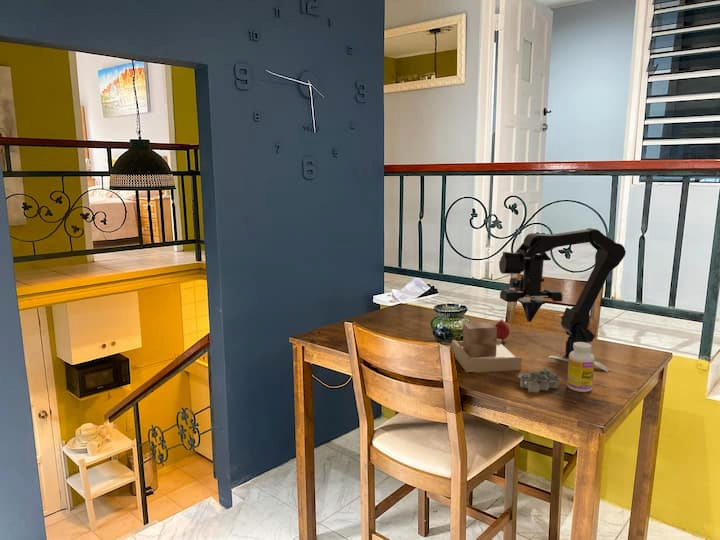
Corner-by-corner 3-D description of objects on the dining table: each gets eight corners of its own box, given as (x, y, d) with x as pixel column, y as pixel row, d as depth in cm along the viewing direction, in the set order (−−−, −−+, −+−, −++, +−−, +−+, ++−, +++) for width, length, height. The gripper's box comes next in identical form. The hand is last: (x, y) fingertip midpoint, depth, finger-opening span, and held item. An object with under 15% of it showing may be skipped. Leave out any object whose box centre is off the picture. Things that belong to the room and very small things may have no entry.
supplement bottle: (580, 394, 149) (583, 349, 147) (561, 386, 155) (564, 343, 152) (597, 389, 152) (600, 345, 150) (578, 381, 158) (581, 339, 155)
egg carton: (531, 394, 150) (532, 380, 149) (515, 384, 157) (515, 371, 156) (563, 388, 154) (564, 374, 153) (545, 379, 161) (546, 366, 160)
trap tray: (500, 350, 186) (500, 337, 185) (521, 370, 168) (521, 355, 167) (451, 352, 184) (451, 339, 183) (467, 372, 166) (467, 358, 165)
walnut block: (489, 350, 179) (490, 322, 177) (496, 356, 173) (496, 327, 171) (462, 351, 178) (463, 323, 176) (468, 357, 172) (468, 328, 170)
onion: (511, 343, 193) (512, 321, 191) (494, 343, 193) (495, 321, 191) (507, 338, 198) (507, 317, 197) (491, 338, 198) (491, 317, 197)
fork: (549, 362, 181) (549, 354, 180) (613, 372, 166) (613, 363, 165) (545, 365, 179) (544, 356, 179) (609, 374, 164) (609, 365, 163)
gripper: (548, 269, 181) (544, 314, 184) (494, 269, 178) (491, 315, 181) (565, 275, 170) (561, 323, 173) (508, 275, 168) (505, 324, 170)
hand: (528, 321), depth 175 cm, fingers closed
